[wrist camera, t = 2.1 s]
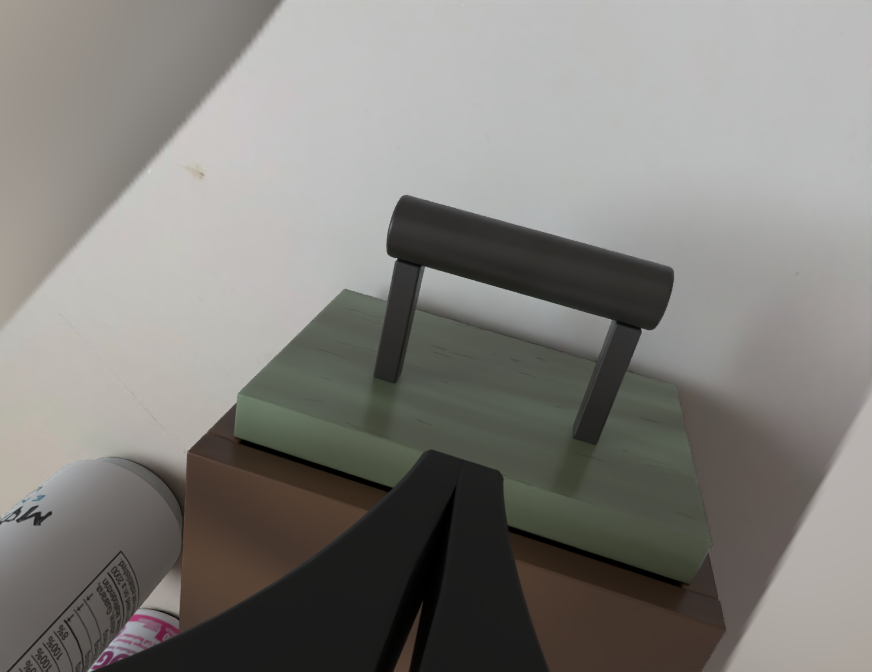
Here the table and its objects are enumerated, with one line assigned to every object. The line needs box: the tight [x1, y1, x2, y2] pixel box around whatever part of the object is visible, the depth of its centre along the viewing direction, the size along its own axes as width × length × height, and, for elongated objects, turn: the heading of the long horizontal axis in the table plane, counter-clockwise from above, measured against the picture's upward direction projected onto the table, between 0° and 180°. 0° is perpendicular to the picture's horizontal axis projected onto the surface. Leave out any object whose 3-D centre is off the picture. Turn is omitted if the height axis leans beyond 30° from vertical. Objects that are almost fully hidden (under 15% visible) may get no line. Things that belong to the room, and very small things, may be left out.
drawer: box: [234, 195, 712, 584], centre depth 18 cm, size 17×10×7 cm, turn 168°
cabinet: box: [179, 403, 726, 672], centre depth 20 cm, size 14×12×9 cm
